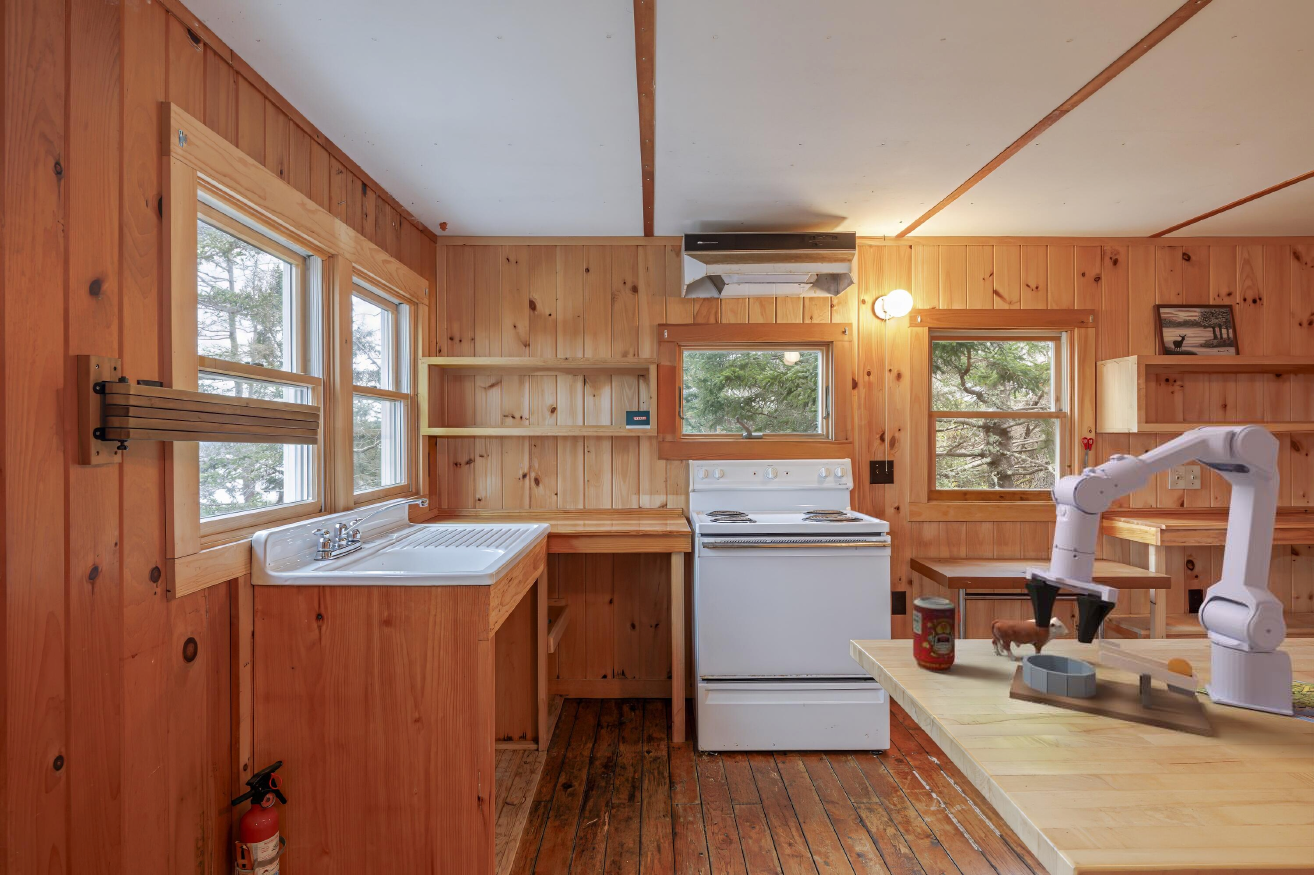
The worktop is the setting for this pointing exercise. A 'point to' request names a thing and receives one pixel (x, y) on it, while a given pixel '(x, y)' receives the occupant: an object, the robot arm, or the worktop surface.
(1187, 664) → the ball
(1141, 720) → the base board
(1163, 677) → the tilted wooden ramp
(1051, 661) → the bowl
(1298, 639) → the worktop surface
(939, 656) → the soda can
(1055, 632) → the bull figurine
